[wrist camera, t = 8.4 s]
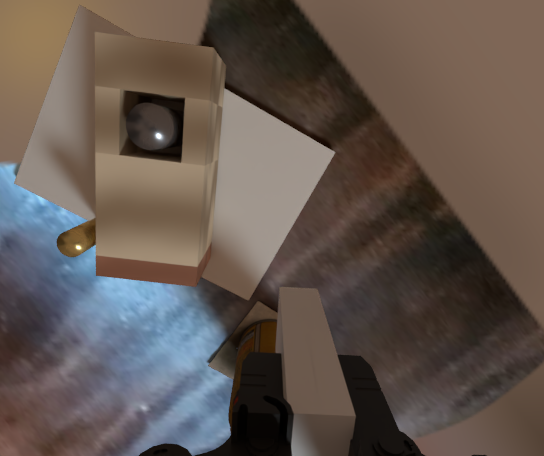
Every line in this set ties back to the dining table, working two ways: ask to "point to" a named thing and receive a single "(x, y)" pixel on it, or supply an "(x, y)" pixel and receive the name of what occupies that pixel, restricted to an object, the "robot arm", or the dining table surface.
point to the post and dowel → (145, 134)
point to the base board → (231, 164)
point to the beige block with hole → (155, 160)
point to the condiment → (246, 346)
